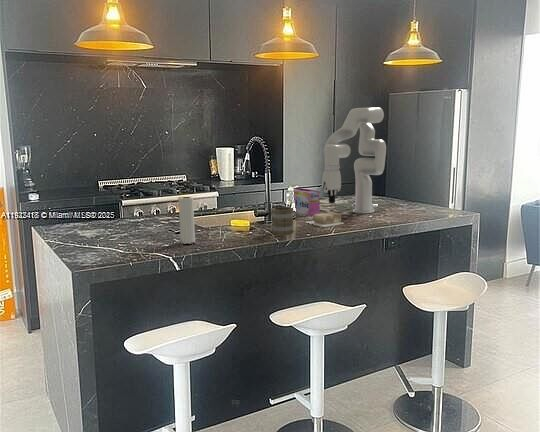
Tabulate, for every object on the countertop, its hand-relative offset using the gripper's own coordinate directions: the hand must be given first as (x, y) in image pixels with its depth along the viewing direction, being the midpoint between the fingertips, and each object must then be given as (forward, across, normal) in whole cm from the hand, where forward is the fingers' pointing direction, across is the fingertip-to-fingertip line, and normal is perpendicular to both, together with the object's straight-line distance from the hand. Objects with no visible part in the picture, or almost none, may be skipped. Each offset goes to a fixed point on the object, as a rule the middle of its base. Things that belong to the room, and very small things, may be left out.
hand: (331, 202), depth 287 cm
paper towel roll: (+11, +83, -3) cm, 84 cm away
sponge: (+8, -3, 0) cm, 8 cm away
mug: (+11, +35, +3) cm, 37 cm away
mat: (+10, +5, 0) cm, 12 cm away
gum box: (+11, -7, -34) cm, 36 cm away
